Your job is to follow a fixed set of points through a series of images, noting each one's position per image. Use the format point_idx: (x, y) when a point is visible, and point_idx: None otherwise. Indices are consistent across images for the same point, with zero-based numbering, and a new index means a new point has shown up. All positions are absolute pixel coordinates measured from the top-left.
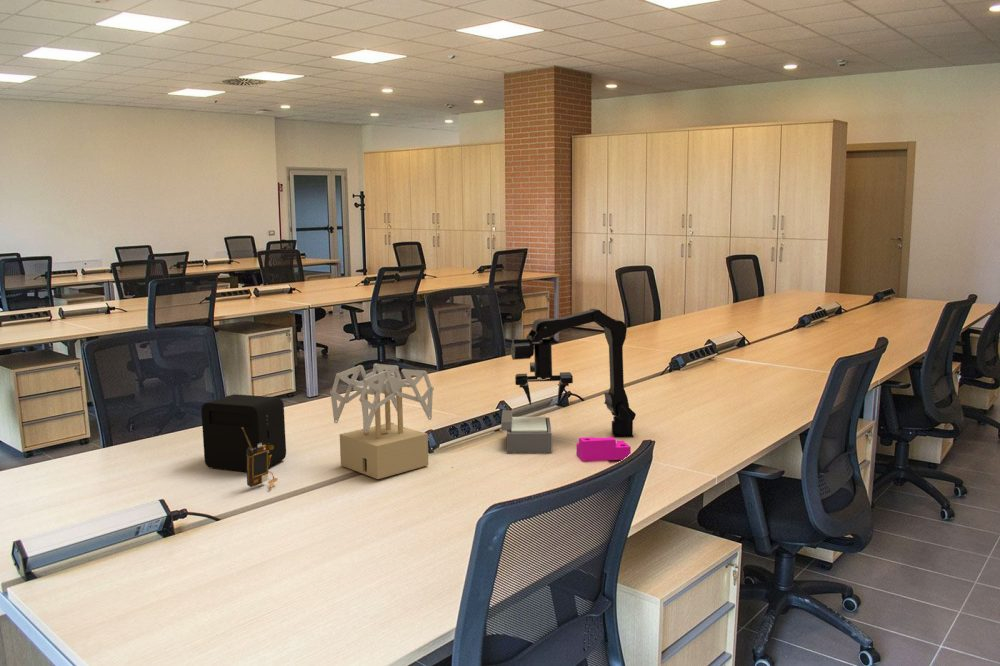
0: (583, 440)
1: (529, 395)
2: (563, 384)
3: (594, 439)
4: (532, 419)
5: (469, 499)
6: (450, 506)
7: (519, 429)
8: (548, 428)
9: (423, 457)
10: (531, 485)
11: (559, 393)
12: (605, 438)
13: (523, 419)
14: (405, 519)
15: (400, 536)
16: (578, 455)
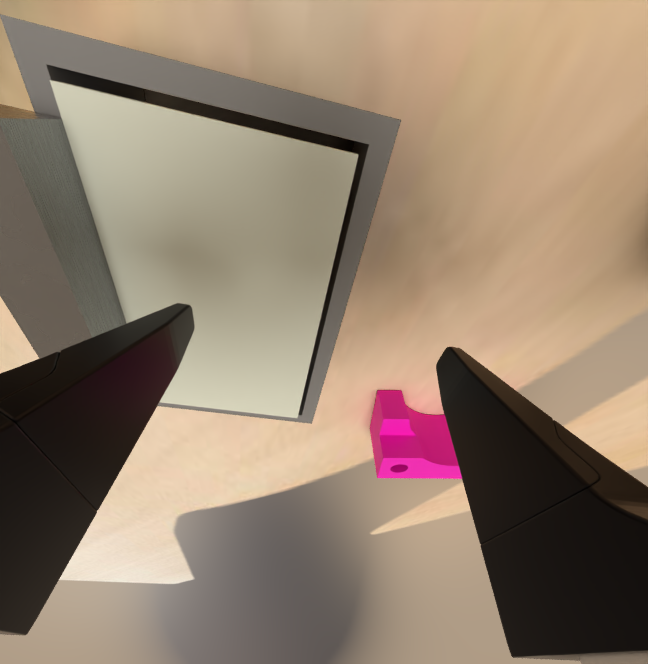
0: (383, 473)
1: (131, 440)
2: (573, 658)
3: (416, 471)
4: (245, 228)
5: (157, 505)
6: (138, 513)
7: (184, 395)
8: (315, 374)
9: None
10: (245, 487)
11: (472, 492)
12: (451, 469)
13: (178, 215)
14: (97, 524)
15: (113, 539)
16: (375, 407)
